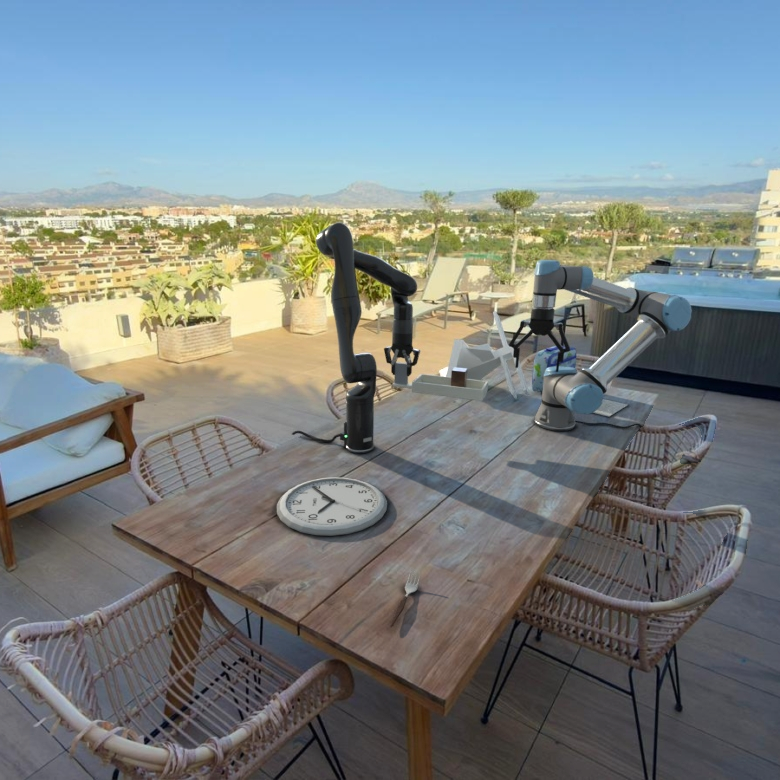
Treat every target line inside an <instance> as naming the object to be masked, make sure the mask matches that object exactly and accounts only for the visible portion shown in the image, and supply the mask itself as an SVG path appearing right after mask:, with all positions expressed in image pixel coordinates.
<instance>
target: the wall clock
mask: <svg viewBox="0 0 780 780" xmlns="http://www.w3.org/2000/svg"><path fill="white" fill-rule="evenodd" d="M387 509H388V500H387V498H386V496H385V494H384V493H383V492H382V491H381V490H380V489H379V488H377V487H376V486H374V485H372V484H371V483H369V482H365V481H362V480H359V479H355V478H349V477H338V476H337V477H335V476H333V477H332V476H331V477H322V478H317V479H312V480H307V481H305V482H302V483H299V484H297V485H295V486H293V487H292V488H290V489H288V490H287V491H286V492H285V493H284V494H283V495H281V496H280V498H279V499H278V502H277V503H276V515H277V517H278V518H279V520H280V521H281V522H282V523H283V524H285V525H286V526H287V527H288V528H290V529H293V530H295V531H297V532H299V533H303V534H308V535H312V536H327V537H328V536H329V537H331V536H332V537H333V536H342V535H350V534H352V533H356V532H361V531H363V530H366V529H368V528H369V527H372V526H373V525H375V524H376V523H378V522H379V521H380V520H381V519H382V518H383V517H384V516H385V514H386V512H387Z"/></svg>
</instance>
